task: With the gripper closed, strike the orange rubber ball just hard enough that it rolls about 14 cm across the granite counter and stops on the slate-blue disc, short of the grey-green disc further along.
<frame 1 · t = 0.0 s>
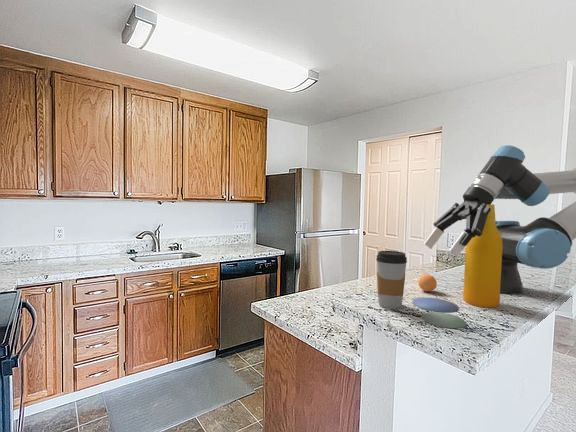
hand: (439, 249, 95), 15 cm above the worktop, tool tilted 35°, fingers open, 13 cm apart
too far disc: (443, 320, 80), on the worktop
ball: (427, 283, 105), on the worktop
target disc: (434, 304, 91), on the worktop
coffee cup: (389, 305, 90), on the worktop
beer bottle: (480, 303, 94), on the worktop
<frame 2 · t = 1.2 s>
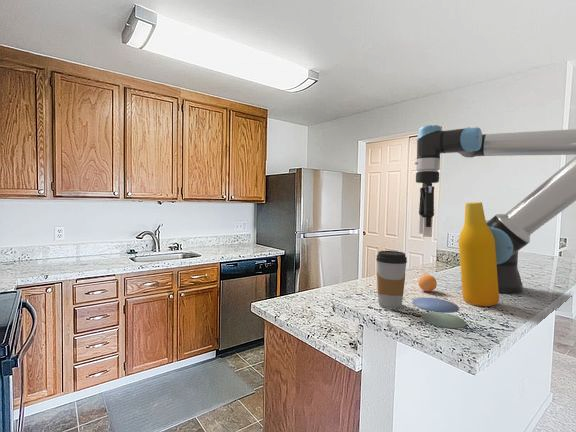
hand: (425, 235, 113), 18 cm above the worktop, tool pointing down, fingers open, 9 cm apart
beer bottle: (480, 301, 94), on the worktop, touching arm
everything else where it was.
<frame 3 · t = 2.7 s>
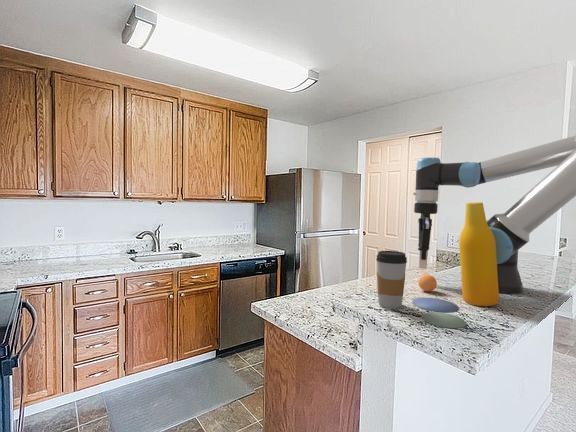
hand: (422, 268, 114), 6 cm above the worktop, tool pointing down, fingers closed
nothing on the worktop moved.
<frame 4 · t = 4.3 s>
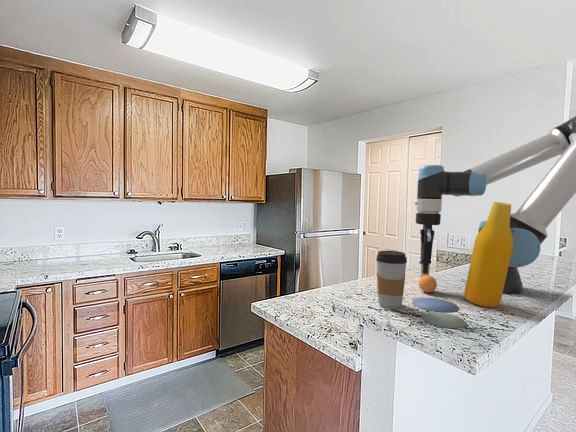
hand: (424, 282, 107), 2 cm above the worktop, tool pointing down, fingers closed
ball: (427, 283, 104), on the worktop, touching gripper
beer bottle: (481, 300, 94), point 1 cm above the worktop
everything else where it was.
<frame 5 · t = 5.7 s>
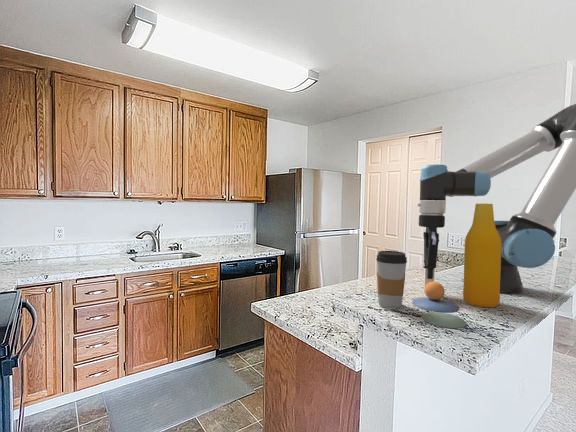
hand: (428, 287, 102), 2 cm above the worktop, tool pointing down, fingers closed
ball: (434, 290, 96), on the worktop
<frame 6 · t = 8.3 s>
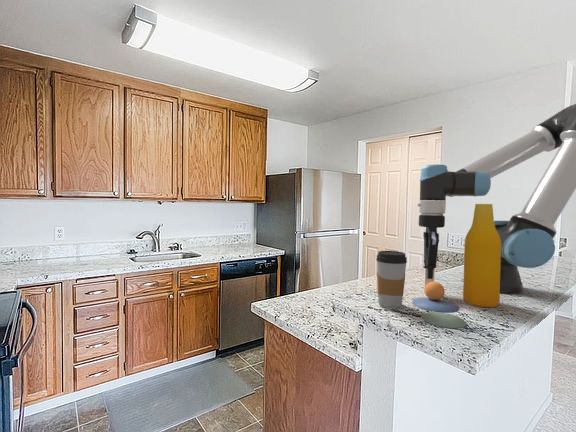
hand: (428, 287, 102), 2 cm above the worktop, tool pointing down, fingers closed
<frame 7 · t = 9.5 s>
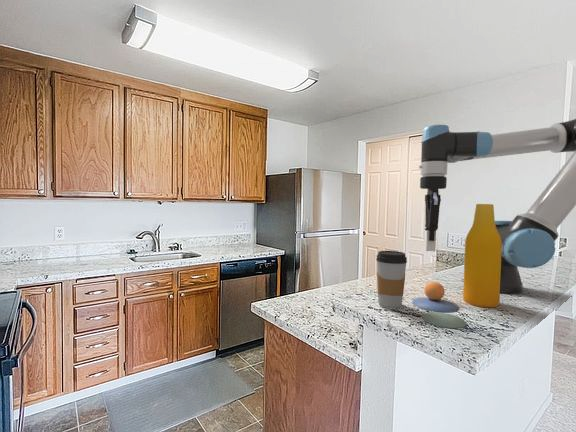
hand: (430, 250, 101), 14 cm above the worktop, tool pointing down, fingers closed
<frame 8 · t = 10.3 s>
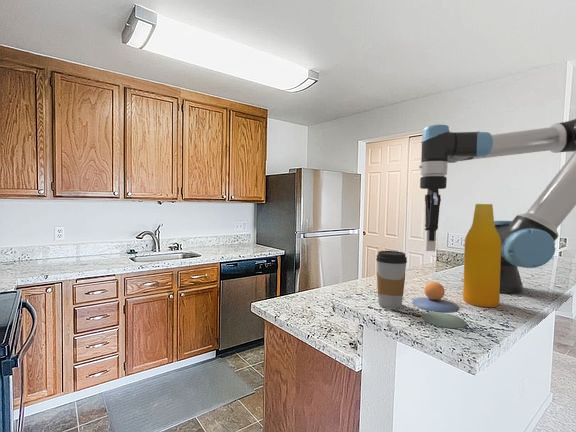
hand: (430, 250, 101), 14 cm above the worktop, tool pointing down, fingers closed
at the end: ball 4.9 cm from the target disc (horizontally); ball at rest at the end (0.0 cm/s); ball moved 9.2 cm from its start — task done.
